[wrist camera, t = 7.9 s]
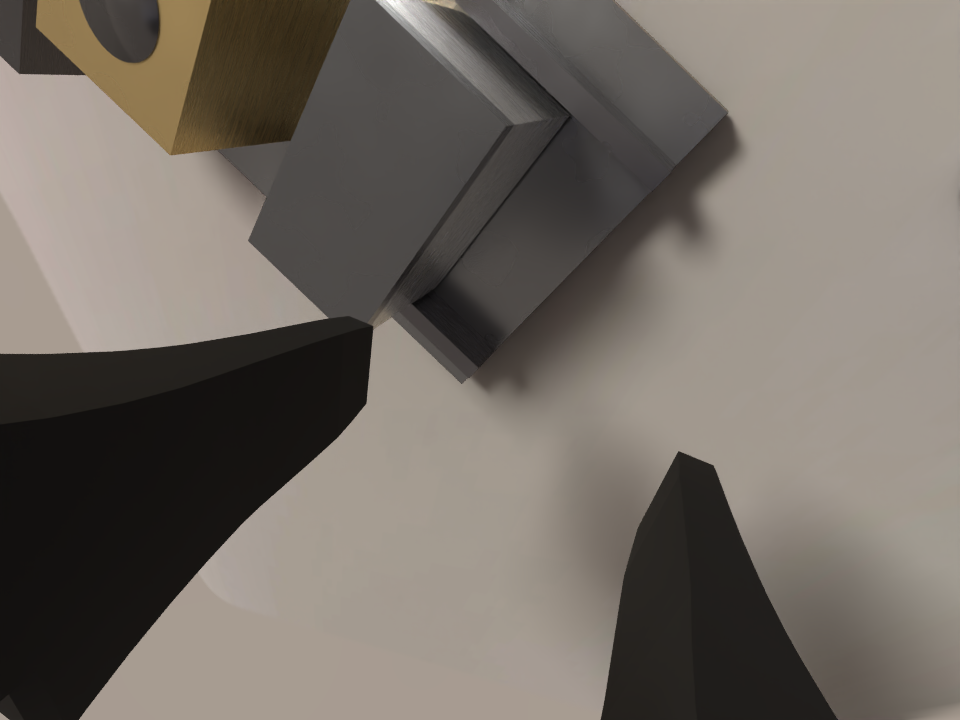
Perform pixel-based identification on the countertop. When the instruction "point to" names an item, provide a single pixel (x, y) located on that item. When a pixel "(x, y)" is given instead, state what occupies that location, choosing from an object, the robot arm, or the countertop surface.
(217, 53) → the housing
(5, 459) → the robot arm
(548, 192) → the press bed
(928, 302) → the countertop surface
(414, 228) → the block
